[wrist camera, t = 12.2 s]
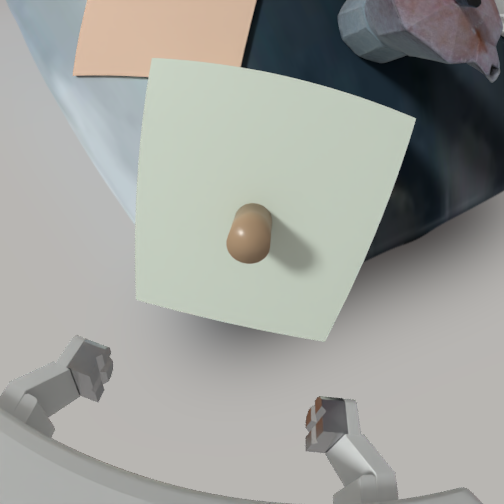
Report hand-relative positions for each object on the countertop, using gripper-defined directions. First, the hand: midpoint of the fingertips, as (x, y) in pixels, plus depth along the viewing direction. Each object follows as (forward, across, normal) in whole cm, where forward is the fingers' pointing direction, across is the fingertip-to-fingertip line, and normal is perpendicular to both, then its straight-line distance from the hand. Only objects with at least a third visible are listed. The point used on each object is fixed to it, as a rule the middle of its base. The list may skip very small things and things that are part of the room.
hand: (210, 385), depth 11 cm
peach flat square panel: (+29, +16, -22) cm, 40 cm away
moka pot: (+29, -8, -21) cm, 37 cm away
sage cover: (+29, 0, 0) cm, 29 cm away
